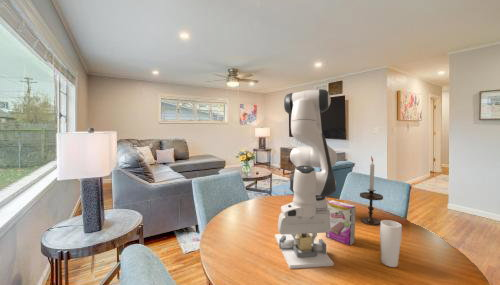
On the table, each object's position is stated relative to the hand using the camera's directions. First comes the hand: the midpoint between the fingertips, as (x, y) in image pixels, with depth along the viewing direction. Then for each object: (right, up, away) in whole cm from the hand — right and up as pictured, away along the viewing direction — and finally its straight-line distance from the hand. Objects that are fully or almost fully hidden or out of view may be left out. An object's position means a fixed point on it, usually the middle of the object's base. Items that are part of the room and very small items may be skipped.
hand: (303, 243), depth 89 cm
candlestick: (+43, -3, +32) cm, 54 cm away
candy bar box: (+19, -4, +13) cm, 23 cm away
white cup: (+30, -5, -5) cm, 31 cm away
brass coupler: (0, -2, 0) cm, 2 cm away
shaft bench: (0, -4, +4) cm, 6 cm away
